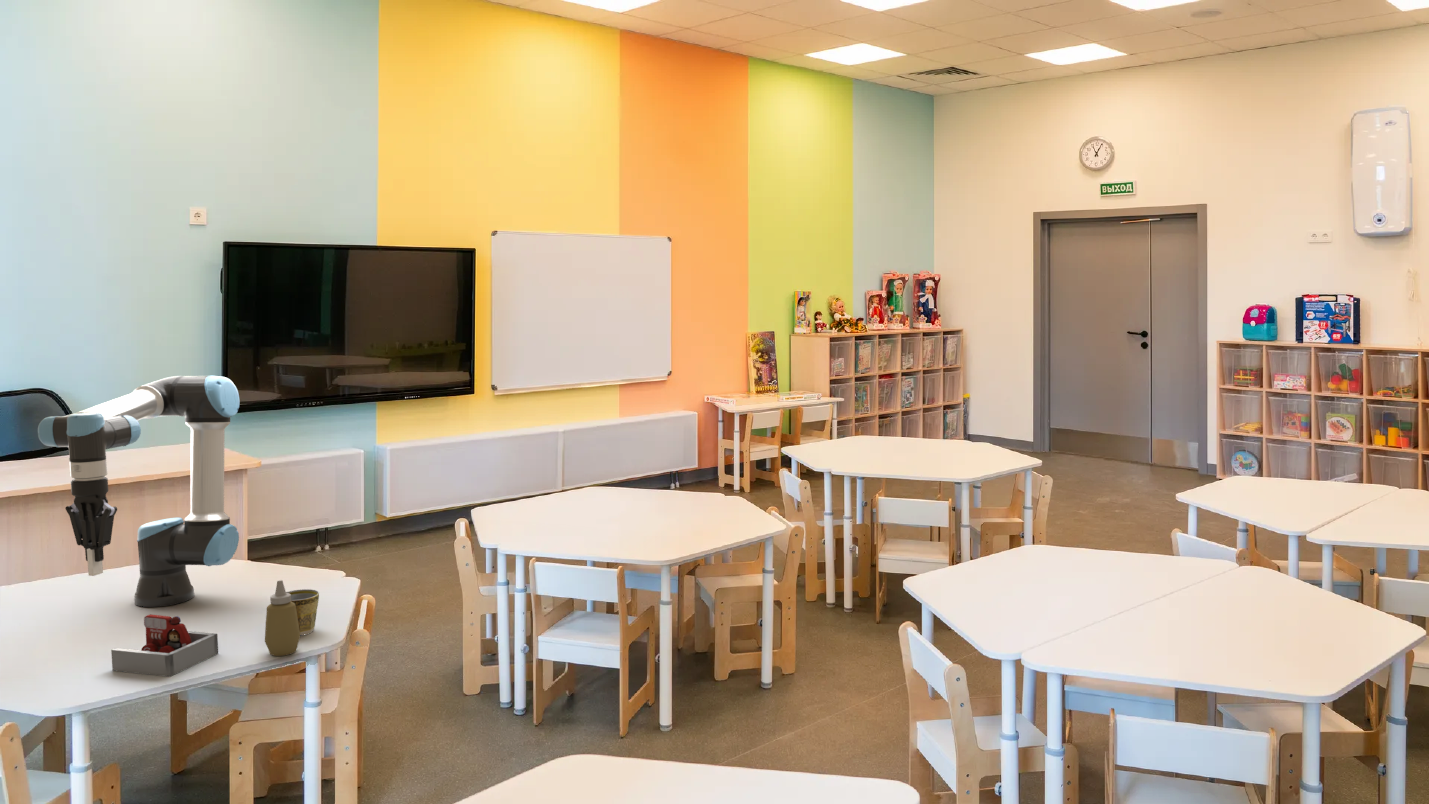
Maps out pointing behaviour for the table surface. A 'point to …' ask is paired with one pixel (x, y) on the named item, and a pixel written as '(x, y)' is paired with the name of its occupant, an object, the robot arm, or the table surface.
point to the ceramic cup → (305, 608)
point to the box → (166, 657)
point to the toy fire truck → (165, 634)
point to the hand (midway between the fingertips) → (95, 574)
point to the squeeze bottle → (281, 623)
